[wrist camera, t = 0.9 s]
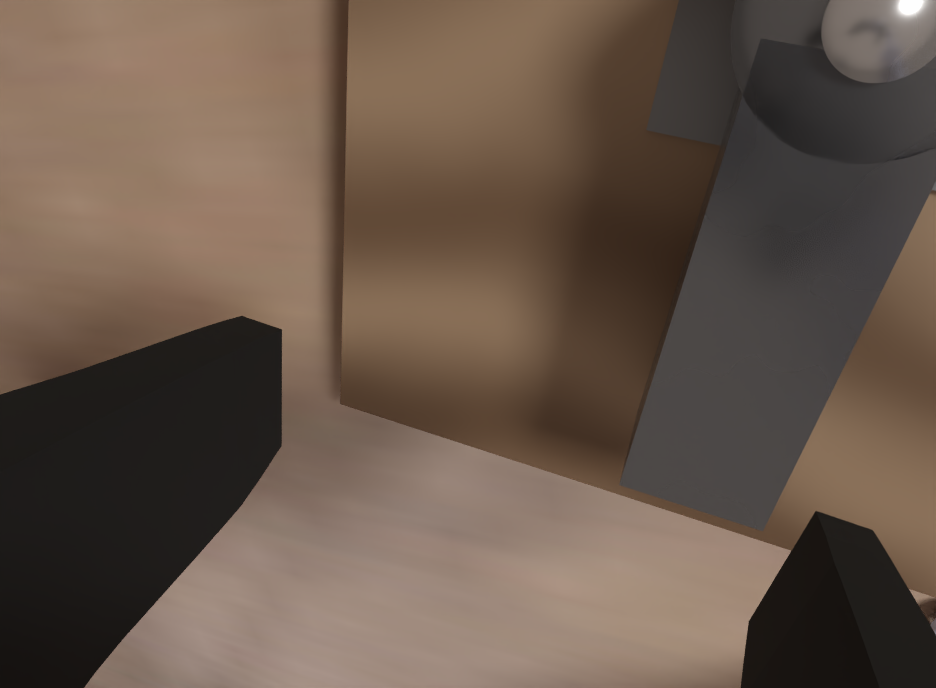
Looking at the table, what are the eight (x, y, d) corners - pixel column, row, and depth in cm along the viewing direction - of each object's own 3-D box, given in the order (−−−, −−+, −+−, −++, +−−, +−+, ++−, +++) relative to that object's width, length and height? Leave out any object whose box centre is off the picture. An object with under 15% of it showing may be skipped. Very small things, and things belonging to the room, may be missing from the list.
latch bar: (781, -159, 11) (787, -180, 9) (1060, -127, 11) (1152, -139, 8) (618, 403, 18) (594, 483, 15) (784, 452, 17) (788, 546, 14)
